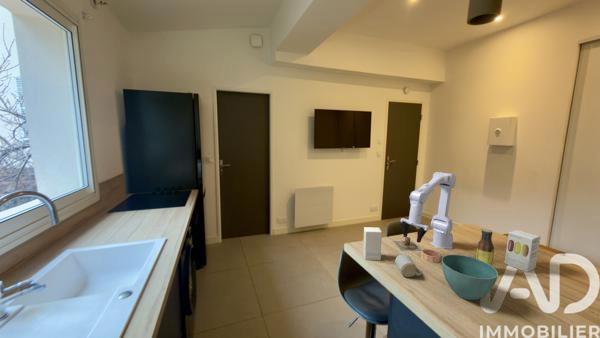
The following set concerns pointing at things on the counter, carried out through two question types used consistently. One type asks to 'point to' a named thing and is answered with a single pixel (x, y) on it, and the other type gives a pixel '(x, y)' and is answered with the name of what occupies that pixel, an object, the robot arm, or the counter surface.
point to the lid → (407, 244)
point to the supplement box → (522, 250)
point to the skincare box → (372, 243)
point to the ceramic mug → (406, 266)
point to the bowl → (430, 255)
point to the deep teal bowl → (468, 276)
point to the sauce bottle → (486, 247)
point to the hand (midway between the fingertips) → (411, 239)
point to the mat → (407, 249)
